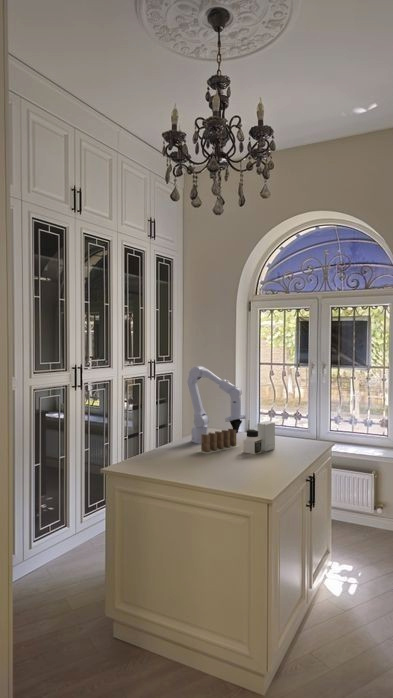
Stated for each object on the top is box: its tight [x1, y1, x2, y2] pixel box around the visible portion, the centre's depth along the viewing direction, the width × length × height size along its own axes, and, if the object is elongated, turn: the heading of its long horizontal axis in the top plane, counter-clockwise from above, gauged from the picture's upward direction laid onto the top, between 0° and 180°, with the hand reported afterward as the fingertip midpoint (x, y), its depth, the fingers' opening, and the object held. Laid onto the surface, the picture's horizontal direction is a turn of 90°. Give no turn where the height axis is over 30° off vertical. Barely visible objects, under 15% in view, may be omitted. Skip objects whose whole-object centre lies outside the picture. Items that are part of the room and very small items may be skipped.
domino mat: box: [197, 444, 241, 455], centre depth 250 cm, size 8×26×1 cm, turn 131°
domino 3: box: [221, 429, 231, 449], centre depth 254 cm, size 5×2×9 cm, turn 41°
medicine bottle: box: [242, 428, 262, 456], centre depth 243 cm, size 7×7×12 cm
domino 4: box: [227, 428, 237, 446], centre depth 257 cm, size 5×2×9 cm, turn 41°
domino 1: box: [208, 431, 218, 452], centre depth 247 cm, size 5×2×9 cm, turn 41°
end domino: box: [200, 434, 210, 453], centre depth 244 cm, size 5×2×9 cm, turn 41°
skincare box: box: [257, 420, 276, 452], centre depth 248 cm, size 8×6×15 cm
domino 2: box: [214, 430, 224, 449], centre depth 250 cm, size 5×2×9 cm, turn 41°
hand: (235, 432), depth 259 cm, fingers closed
